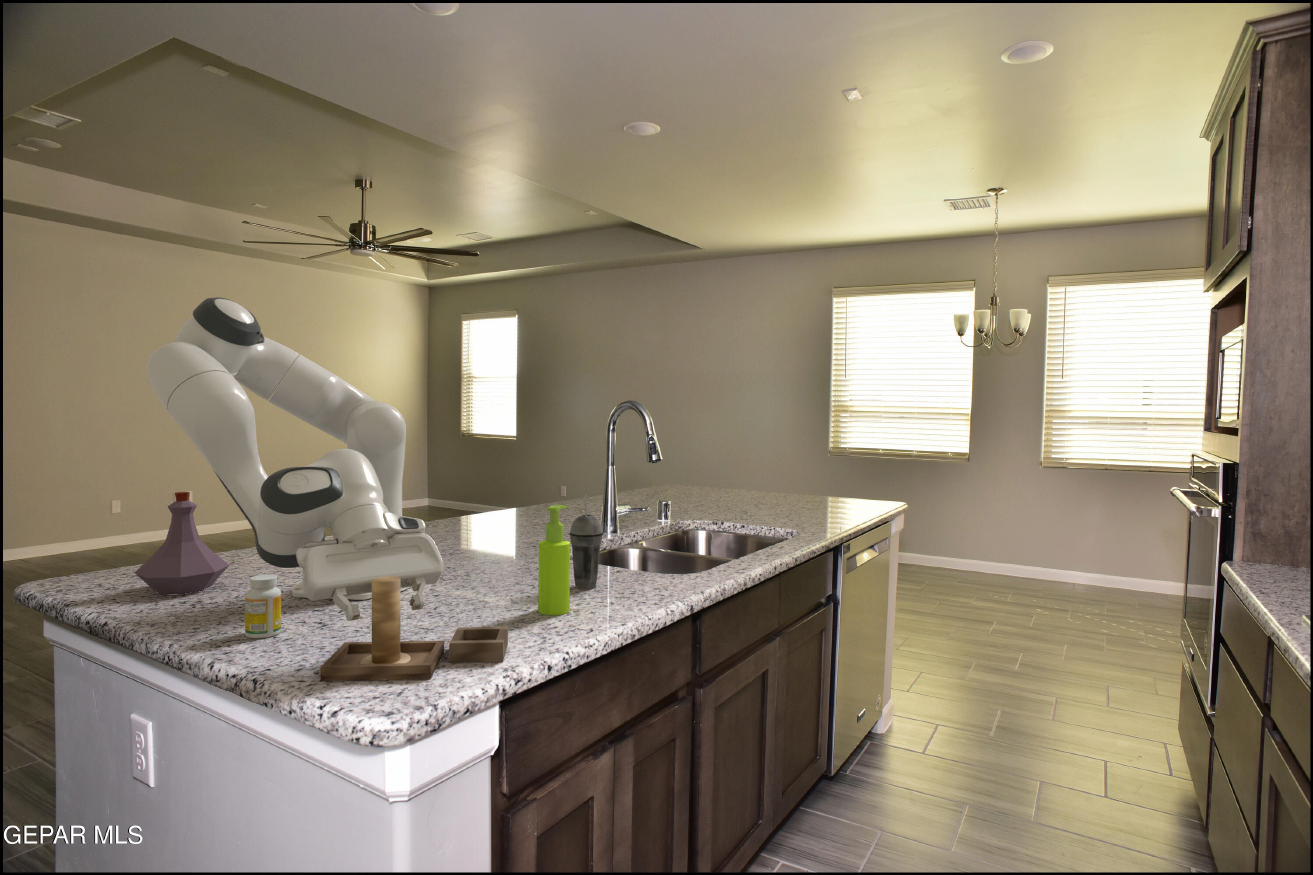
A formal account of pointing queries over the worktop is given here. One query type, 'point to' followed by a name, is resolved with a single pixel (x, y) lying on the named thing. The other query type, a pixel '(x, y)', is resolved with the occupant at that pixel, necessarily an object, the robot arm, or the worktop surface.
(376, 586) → the dowel
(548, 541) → the soap dispenser
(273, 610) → the supplement bottle
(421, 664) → the tray
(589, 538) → the beverage cup
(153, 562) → the flask
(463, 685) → the worktop surface
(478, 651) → the socket
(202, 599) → the worktop surface
